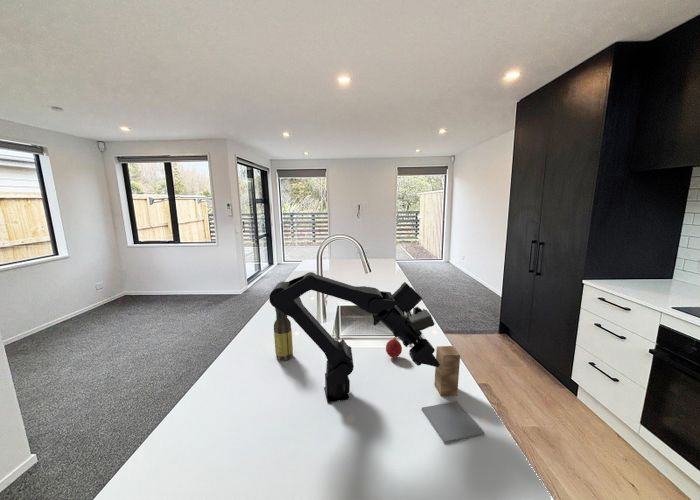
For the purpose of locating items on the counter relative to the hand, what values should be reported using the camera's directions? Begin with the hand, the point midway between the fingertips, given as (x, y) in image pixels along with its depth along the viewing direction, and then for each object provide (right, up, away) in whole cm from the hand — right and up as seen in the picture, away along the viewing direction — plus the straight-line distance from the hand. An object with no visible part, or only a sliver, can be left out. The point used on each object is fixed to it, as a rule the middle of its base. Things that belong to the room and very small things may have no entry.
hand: (432, 356), depth 80 cm
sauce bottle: (-49, -8, +20) cm, 53 cm away
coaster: (+2, -13, -10) cm, 16 cm away
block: (+4, -11, +2) cm, 12 cm away
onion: (-9, -8, +19) cm, 23 cm away
